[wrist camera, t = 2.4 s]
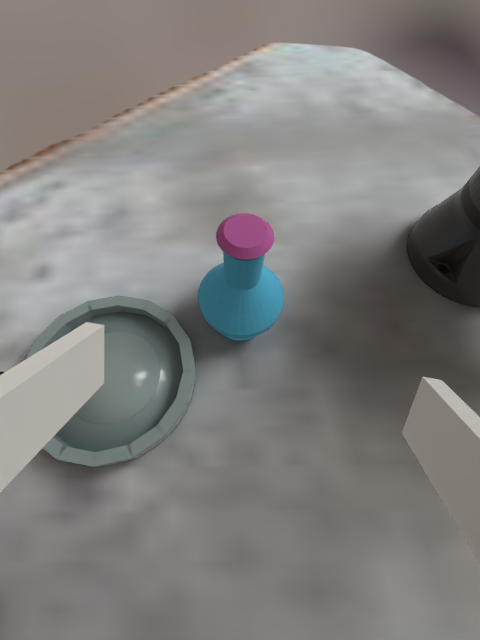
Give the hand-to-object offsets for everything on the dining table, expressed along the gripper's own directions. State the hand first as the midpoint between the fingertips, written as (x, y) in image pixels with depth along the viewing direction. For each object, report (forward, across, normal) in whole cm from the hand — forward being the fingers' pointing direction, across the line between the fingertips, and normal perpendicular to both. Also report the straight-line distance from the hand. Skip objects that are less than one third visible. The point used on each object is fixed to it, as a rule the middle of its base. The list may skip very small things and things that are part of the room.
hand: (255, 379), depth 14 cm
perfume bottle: (+25, -2, -6) cm, 26 cm away
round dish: (+18, -14, -13) cm, 26 cm away
